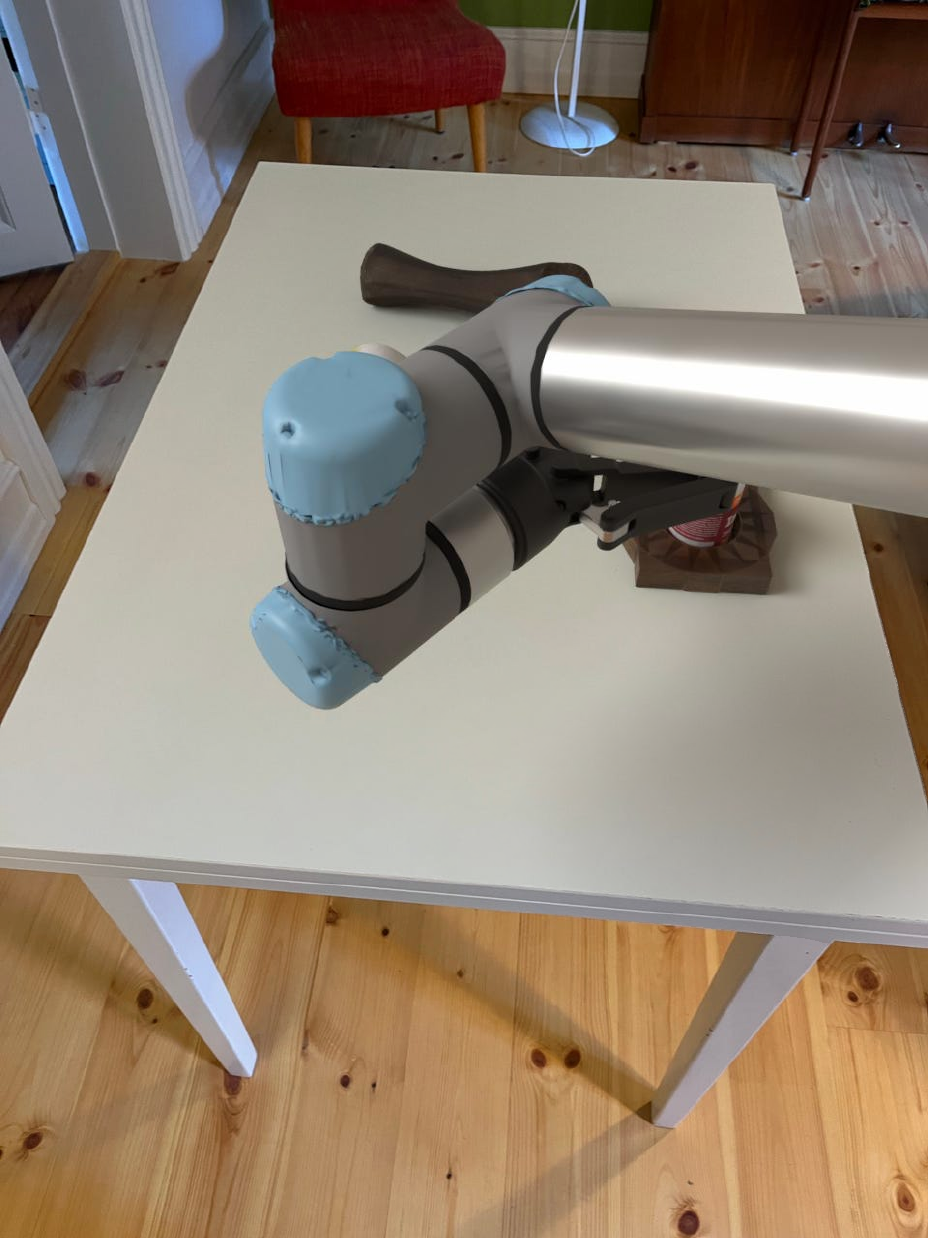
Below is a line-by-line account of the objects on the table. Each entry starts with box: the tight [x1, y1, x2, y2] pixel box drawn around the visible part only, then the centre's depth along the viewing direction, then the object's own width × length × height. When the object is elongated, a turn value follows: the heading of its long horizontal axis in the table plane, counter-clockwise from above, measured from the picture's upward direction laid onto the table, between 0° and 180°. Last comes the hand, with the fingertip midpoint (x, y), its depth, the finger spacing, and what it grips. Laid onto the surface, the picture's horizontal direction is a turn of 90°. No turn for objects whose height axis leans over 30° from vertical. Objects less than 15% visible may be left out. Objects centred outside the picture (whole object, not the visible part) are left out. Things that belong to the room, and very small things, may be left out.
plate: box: [621, 484, 778, 596], centre depth 92 cm, size 22×14×2 cm, turn 175°
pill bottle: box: [665, 483, 745, 548], centre depth 86 cm, size 6×6×11 cm
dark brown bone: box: [359, 242, 594, 315], centre depth 111 cm, size 11×10×28 cm
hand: (678, 378), depth 68 cm, fingers open, 13 cm apart
